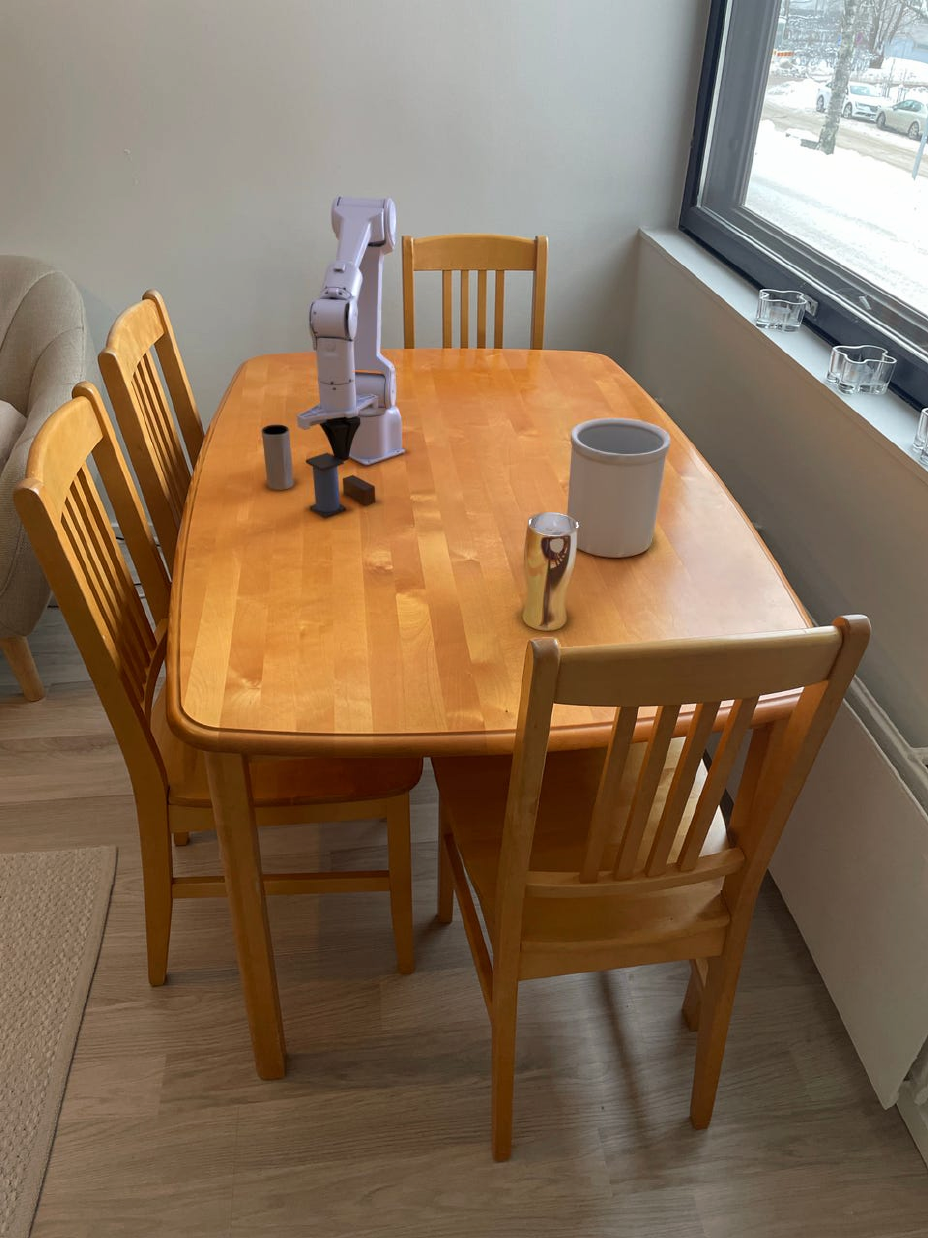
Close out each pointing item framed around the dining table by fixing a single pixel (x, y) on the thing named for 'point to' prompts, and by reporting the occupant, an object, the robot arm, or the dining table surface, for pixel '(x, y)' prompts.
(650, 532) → the utensil holder
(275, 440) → the grey hollow cylinder
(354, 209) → the robot arm
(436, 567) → the dining table surface
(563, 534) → the beer glass
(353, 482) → the block
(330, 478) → the spool
